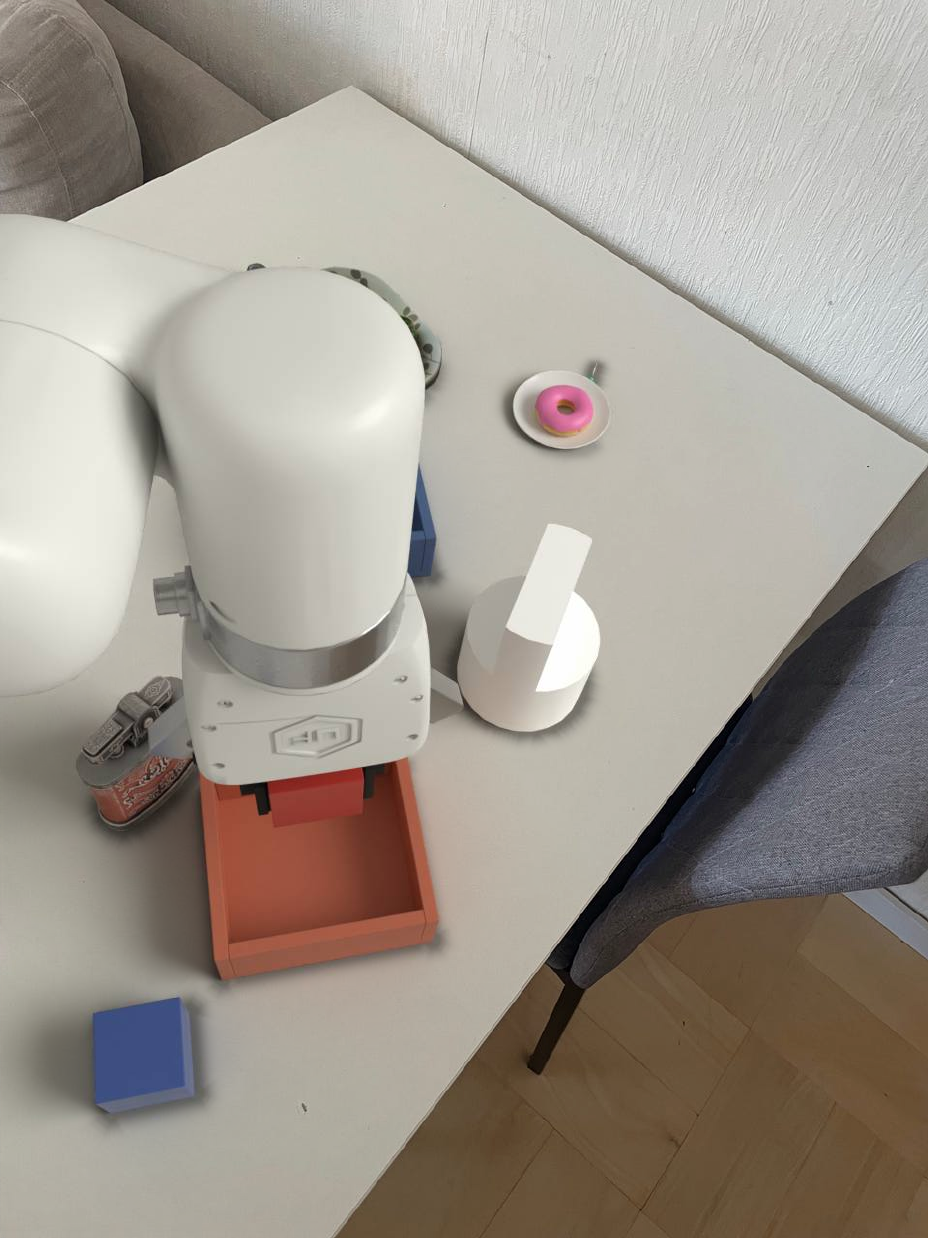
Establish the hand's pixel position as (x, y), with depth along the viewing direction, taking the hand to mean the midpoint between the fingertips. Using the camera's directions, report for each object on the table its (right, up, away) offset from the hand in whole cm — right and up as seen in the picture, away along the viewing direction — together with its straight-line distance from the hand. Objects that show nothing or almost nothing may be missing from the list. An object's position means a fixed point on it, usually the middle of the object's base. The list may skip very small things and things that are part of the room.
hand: (312, 778), depth 53 cm
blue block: (-10, -17, +4) cm, 20 cm away
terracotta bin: (-1, -7, +11) cm, 13 cm away
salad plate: (-4, +30, +34) cm, 46 cm away
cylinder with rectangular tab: (+12, +4, +20) cm, 24 cm away
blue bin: (-2, +16, +25) cm, 30 cm away
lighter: (-12, -2, +13) cm, 18 cm away
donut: (+16, +26, +35) cm, 46 cm away
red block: (0, 0, 0) cm, 0 cm away
